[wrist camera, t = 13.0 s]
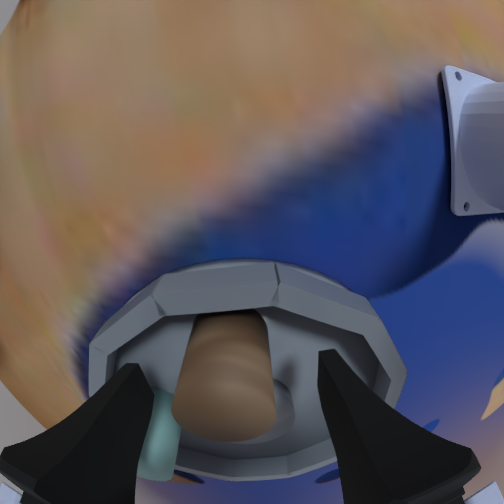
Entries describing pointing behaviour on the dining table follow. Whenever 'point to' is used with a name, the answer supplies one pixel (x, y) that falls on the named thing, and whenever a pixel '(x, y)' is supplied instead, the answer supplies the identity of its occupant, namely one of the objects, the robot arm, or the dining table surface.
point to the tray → (281, 351)
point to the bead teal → (160, 440)
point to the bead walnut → (226, 378)
